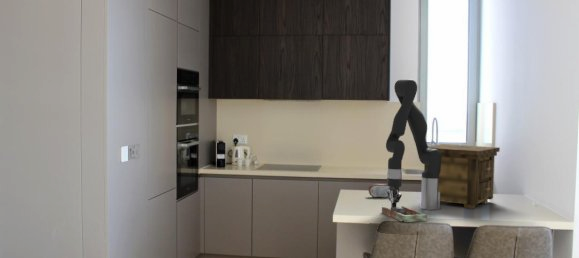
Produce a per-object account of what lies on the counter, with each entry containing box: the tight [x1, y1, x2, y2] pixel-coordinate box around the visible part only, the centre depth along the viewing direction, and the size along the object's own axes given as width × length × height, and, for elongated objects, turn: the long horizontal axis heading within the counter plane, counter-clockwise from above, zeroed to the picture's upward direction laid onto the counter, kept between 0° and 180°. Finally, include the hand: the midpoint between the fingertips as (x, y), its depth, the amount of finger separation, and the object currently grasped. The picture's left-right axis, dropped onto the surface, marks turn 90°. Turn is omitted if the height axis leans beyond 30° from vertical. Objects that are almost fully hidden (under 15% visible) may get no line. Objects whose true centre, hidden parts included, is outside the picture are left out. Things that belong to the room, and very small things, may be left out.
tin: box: [368, 183, 389, 198], centre depth 352 cm, size 15×3×8 cm, turn 92°
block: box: [390, 206, 405, 215], centre depth 299 cm, size 5×5×4 cm
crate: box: [423, 143, 500, 209], centre depth 336 cm, size 35×35×33 cm
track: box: [381, 205, 428, 223], centre depth 293 cm, size 13×24×3 cm, turn 17°
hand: (393, 209), depth 303 cm, fingers closed
